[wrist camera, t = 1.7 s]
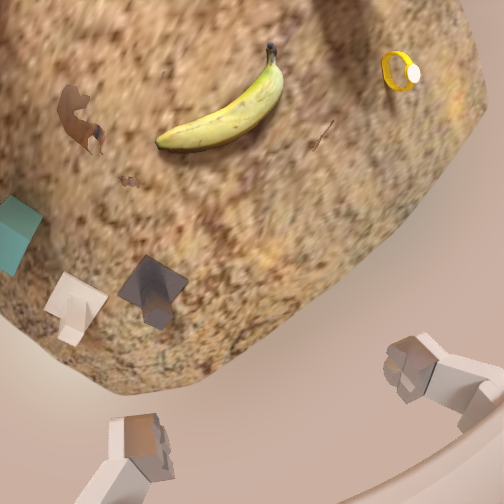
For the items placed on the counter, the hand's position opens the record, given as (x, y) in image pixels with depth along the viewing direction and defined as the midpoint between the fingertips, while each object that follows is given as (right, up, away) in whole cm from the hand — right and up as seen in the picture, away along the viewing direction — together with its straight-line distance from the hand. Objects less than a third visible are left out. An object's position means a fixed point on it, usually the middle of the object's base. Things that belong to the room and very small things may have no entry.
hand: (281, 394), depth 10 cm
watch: (+18, +31, +29) cm, 46 cm away
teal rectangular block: (-29, +8, +21) cm, 37 cm away
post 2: (-14, 0, +32) cm, 35 cm away
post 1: (-25, -2, +29) cm, 38 cm away
